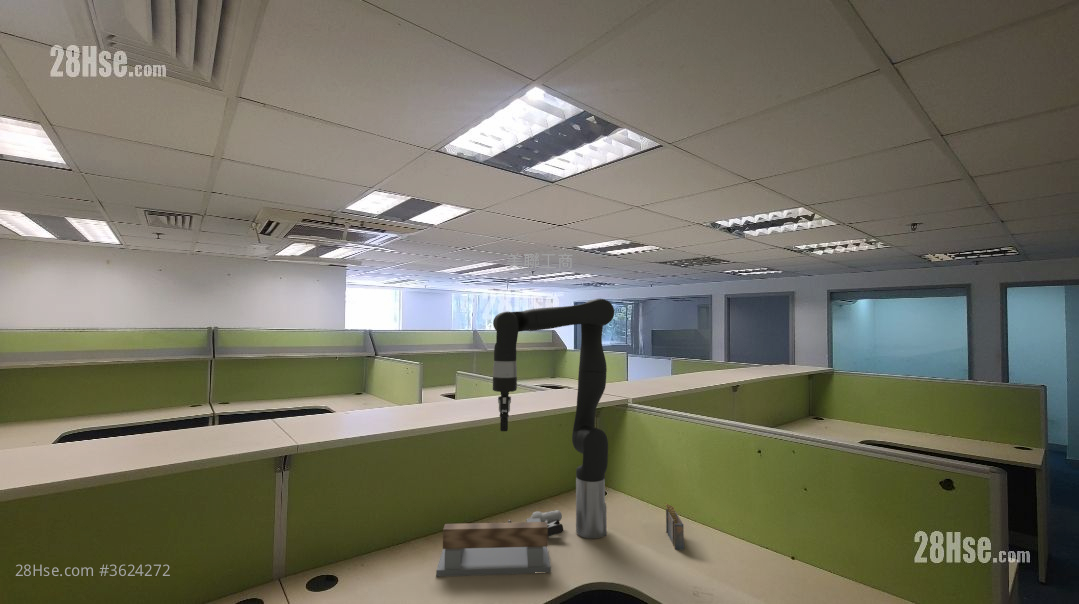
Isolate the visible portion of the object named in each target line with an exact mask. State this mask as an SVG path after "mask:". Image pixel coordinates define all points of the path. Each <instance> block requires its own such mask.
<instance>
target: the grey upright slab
mask: <svg viewBox="0 0 1079 604" xmlns="http://www.w3.org/2000/svg"><path fill="white" fill-rule="evenodd" d="M664 505H665V507H666V509H665V524H666V525H665V527H666V531H665V532H666V533H667V537H668V539H669V540H670V542H671V543H672V546H673V548H674V550H681V551H682V550H684V551H685V540H684V539H685V538H684V535H685V533H684V532H685V531H684V523H683V521H682V520H681V517H679V515H678V513H677V512H676V510H675V507H674V506H672V505H669V504H668V503H666V502H664Z"/></svg>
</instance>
